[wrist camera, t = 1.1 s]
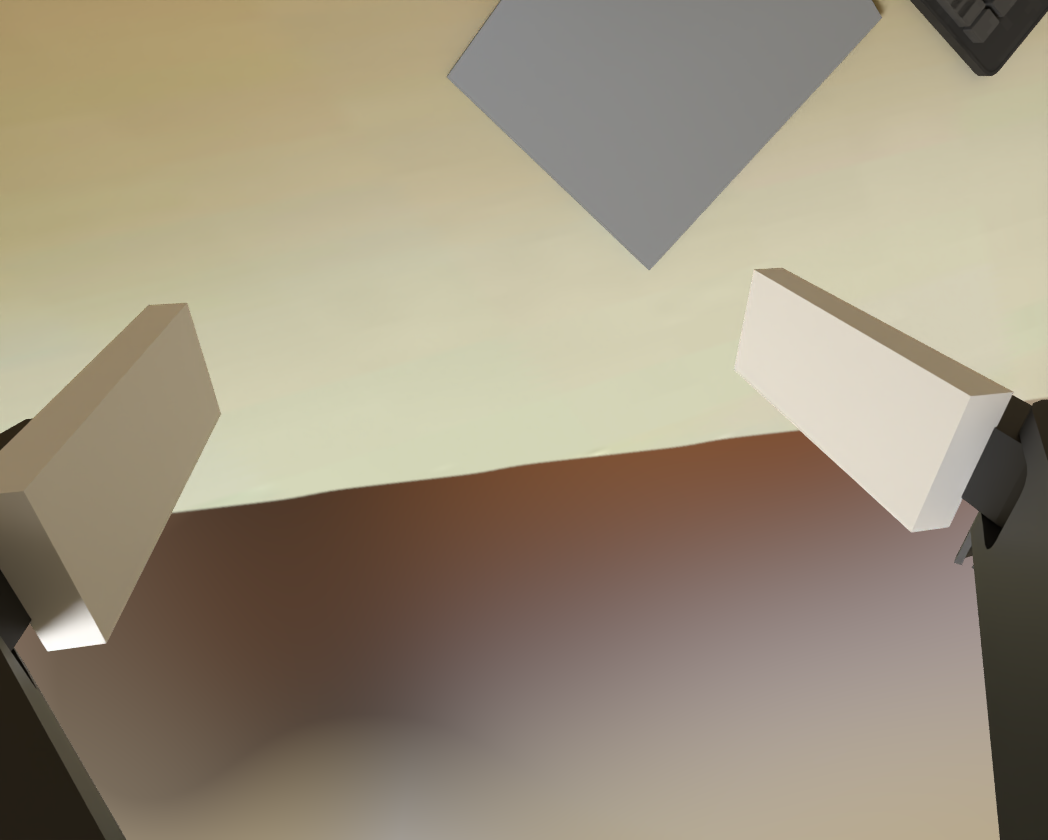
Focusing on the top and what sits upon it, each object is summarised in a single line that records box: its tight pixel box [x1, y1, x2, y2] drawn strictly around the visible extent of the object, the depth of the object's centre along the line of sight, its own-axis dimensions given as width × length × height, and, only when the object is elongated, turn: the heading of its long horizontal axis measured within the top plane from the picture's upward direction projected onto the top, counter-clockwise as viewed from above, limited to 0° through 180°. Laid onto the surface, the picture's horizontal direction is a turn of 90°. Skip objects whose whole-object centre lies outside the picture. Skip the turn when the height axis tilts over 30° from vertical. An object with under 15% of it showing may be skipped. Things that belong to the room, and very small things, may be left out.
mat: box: [447, 0, 882, 270], centre depth 36 cm, size 18×20×1 cm
